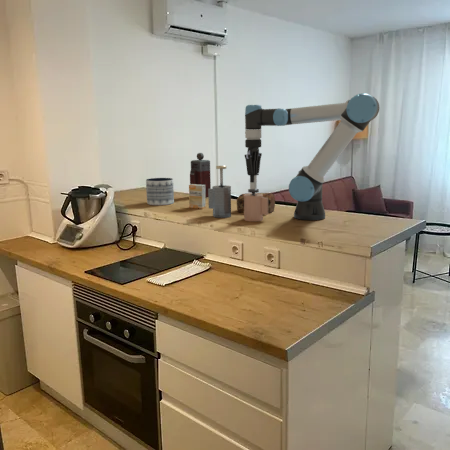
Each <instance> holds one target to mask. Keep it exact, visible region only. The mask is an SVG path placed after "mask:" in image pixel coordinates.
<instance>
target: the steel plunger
mask: <svg viewBox="0 0 450 450" xmlns="http://www.w3.org/2000/svg"><path fill="white" fill-rule="evenodd" d="M215 168H216V170H219V179H220V180H219V185H220V187H223V185H224V170H226V169H227V165H216V166H215Z"/></svg>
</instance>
